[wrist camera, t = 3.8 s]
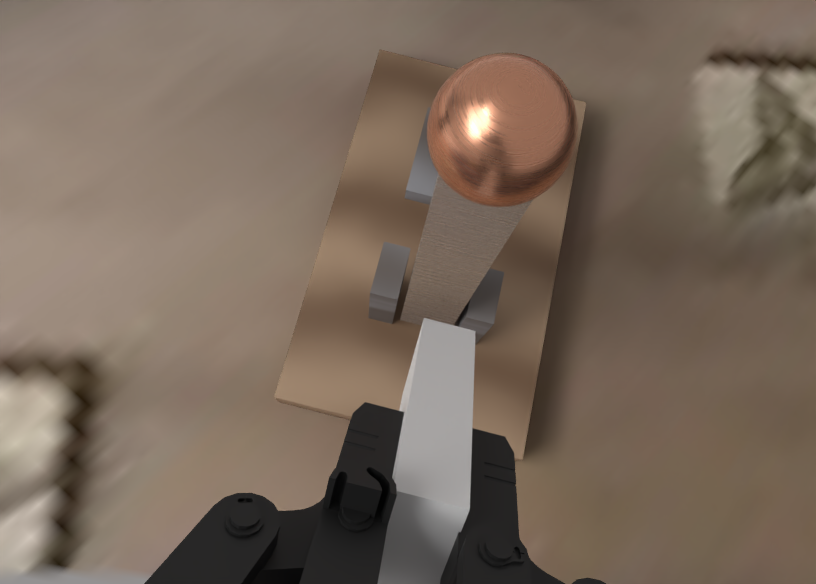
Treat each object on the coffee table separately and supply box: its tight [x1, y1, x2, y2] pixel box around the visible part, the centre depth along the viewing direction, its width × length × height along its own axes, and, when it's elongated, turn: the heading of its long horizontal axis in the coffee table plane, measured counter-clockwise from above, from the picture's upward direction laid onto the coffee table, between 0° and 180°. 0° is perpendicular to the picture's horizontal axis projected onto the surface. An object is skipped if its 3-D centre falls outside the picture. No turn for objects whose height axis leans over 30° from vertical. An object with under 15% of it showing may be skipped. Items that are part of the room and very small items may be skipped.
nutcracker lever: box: [400, 53, 578, 325], centre depth 22 cm, size 4×4×17 cm
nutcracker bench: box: [274, 50, 586, 461], centre depth 31 cm, size 20×12×7 cm, turn 166°
